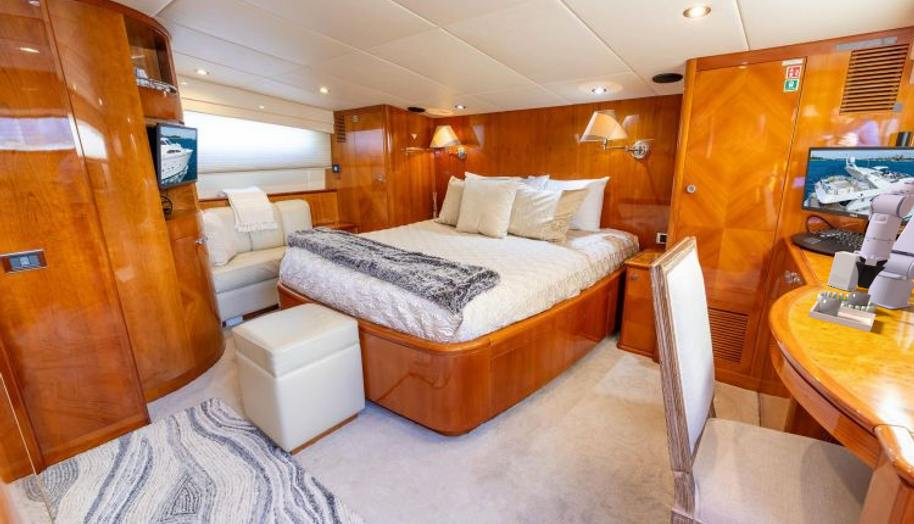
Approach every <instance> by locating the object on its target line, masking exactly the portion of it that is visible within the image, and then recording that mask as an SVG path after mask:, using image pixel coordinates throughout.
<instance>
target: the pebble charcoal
mask: <svg viewBox="0 0 914 524" xmlns="http://www.w3.org/2000/svg"><path fill="white" fill-rule="evenodd" d="M849 294H850V297H849V301H848V304H847V307H848V306H849V305H853V306H854V307H853V309H855V307H856V306H860V307H861V308H862V306H865V307H867V306H868V303H869V300H870V297H871V295H870V294H868V292H863V291H858V290H854V291H850V293H849ZM861 308H860V311H861Z"/></svg>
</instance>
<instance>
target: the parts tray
mask: <svg viewBox="0 0 914 524" xmlns="http://www.w3.org/2000/svg"><path fill="white" fill-rule="evenodd" d="M820 303H821V302H819V301H817V300H816V302H815V303H814V304H813V306H812V307H811V308H810V309H809V312H808V314H807V315H808V316H807V317H808V318H812V319H816V320H819V321H823V322H828V323H833V324H835V325H839V326H844V327H848V328H851V329H856V330H860V331H863V332H868V333H871V330H872V327H873V323H874V321H875V318H876V315H877V314H876V313H873V314H872V313H868V312H864V311H859V310H855V309H850V308H846V307H841V306H840V309H839V312H838V315H837V317H834V316H830V315H826V314H822V313H818V309H819V306H820Z"/></svg>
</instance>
